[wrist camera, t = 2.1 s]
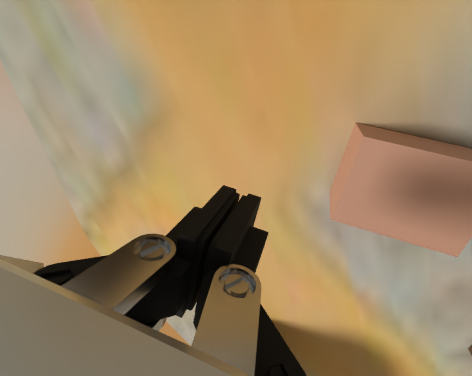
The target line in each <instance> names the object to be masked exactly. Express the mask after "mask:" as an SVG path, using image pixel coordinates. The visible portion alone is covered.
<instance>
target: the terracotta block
mask: <svg viewBox="0 0 472 376" xmlns="http://www.w3.org/2000/svg"><path fill="white" fill-rule="evenodd" d="M330 213H331V220H334V221H338V222H341V223H345V224H348V225H351V226H355V227H358V228H361V229H365V230H368V231H371V232H375V233H378V234H381V235H385V236H388V237H391V238H395V239H398V240H401V241H405V242H408V243H412V244H415V245H418V246H422V247H425V248H428V249H432V250H435V251H438V252H442V253H445V254H448V255H452V256H455V257H458V256H459V254H460V253H461V251H462V250H463V249H464V247H465V246H466V244H467V243H468V242H469V240H470V239H471V237H472V148H467V147H463V146H458V145H454V144H449V143H445V142H440V141H436V140H431V139H427V138H422V137H418V136H413V135H409V134H404V133H400V132H395V131H391V130H386V129H382V128H377V127H373V126H368V125H364V124H359V123H355V126H354V128H353V131H352V134H351V136H350V139H349V142H348V144H347V147H346V150H345V152H344V155H343V158H342V160H341V163H340V166H339V168H338V171H337V174H336V176H335V179H334V182H333V184H332V187H331V190H330Z"/></svg>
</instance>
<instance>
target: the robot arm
mask: <svg viewBox="0 0 472 376" xmlns="http://www.w3.org/2000/svg"><path fill="white" fill-rule="evenodd" d="M239 195H240V194H238V193H236V189H234V188H231V187H228V186H225V185H223V186H222V187H221V188H220V189H219V191H218V192H217V193H216V194H215V195H214V196H213V197H212V198H211V199H210V200H209V201H208V202H207V204H206V205H205V206H204V207H203V208H202V209H201V208H199V207H194V208H193V209H192V210H191V211H190V212H189V213H188V214H187V215H186V216H185V217H184V218H183V219H182V220H181V221H180V222H179V223H178V224H177V225H176V226H175V227H174V228H173V229H172V230H171V231H170V232H169V233H168V234H167V235H166V236H163V235H160V234H146V235H142V236H139V237H137V238H135V239H134V240H132V241H130V242H129V243H127V244H126V245H124V246H123V247H121V248H120V249H118V250H116V251H115V252H113V253H112V254H110V255H107V256H101V257H94V258H88V259H81V260H75V261H68V262H62V263H56V264H52V265H49V266H46V267H44V264H43V263H38V262H32V261H28V260H23V259H17V258H12V257H7V256H2V255H0V376H306V374H305V372H304V370H303V369H302V367H301V366H300V364H299V363H298V361H297V360H296V358H295V356H294V355H293V353H292V352H291V350H290V349H289V347H288V346H287V344H286V343H285V341H284V339H283V338H282V336H281V335H280V333H279V332H278V330H277V329H276V327H275V325H274V324H273V322H272V321H271V319H270V318H269V316H268V315H267V313H266V312H265V310H264V308H263V307H262V305H261V304H260V299H261V282H260V280H259V278H258V276H257V275H256V274H255V272H256V269H257V266H258V263H259V260H260V257H261V254H262V251H263V248H264V245H265V242H266V239H267V236H268V232H266V231H263V230H261V229H258V228H255V227H253V225H254V222H255V218H256V215H257V211H258V208H259V205H260V201H261V197H258V196H255V195H252V194H248V195H247V196H244V195H243V196H242V197H241V199H240V200H239ZM238 200H239V201H238ZM196 302H197V304H196ZM195 304H196V309H195V317H194V322H193V323H194V326H195V328H196V334H195V337H194V340H193V343H192V346H189V345H187V344H185V343H182V342H180V341H178V340H176V339H174V338H172V337H169V336H167V335H165V334H163V333H161V332H159V330H160V329H161V328H162V327H163V325H164V323H165V322H166V318H167V317H170V316H174V315H176V316H179V317H181V318H182V316H183V315H184V313H185V311H186V310H187V309H188V310H190V311H191V310H192V309H193V307H194V306H195Z"/></svg>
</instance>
